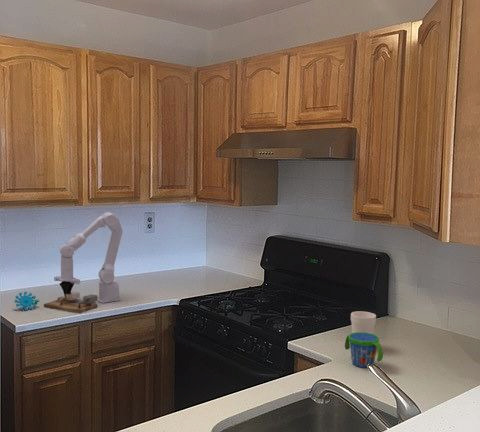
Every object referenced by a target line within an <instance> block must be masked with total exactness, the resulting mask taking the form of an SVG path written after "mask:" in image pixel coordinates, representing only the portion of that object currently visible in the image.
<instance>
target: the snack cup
mask: <svg viewBox="0 0 480 432" xmlns="http://www.w3.org/2000/svg"><path fill="white" fill-rule="evenodd" d="M344 348H345V350H350V356H351V363H352V365H354V366H356V367H359V368H368V367H367V365H368V364H373V365H374V364H375V360H377V362H381V361H382V360H383V357H384V354H383V348H382V345H381V343H380V337H379V336H377V335H376V334H374V333H373V334H370V333H363V332H357V333H352V332H351V333H350V334H348V335H346V338H345V342H344ZM376 353H377V358H376Z"/></svg>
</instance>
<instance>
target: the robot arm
mask: <svg viewBox="0 0 480 432" xmlns="http://www.w3.org/2000/svg"><path fill="white" fill-rule="evenodd" d="M106 226H107V227H108V229H109V231H110V232H111V234H110V239H109V242H108V245H107V250H106V254H105V259H104V262H103V264H102V266H101V269H100V270H99V272H98V278H99V279H100V280H99V282H98V297H97V302H100V303H102V304H105V303H110V302H111V303H112V302H117V301H120V300H121V299H120V285H119V283H118V281H114V280H115V275H114V274H115V263H116V258H117V255H118V251H119V247H120V243H121V239H122V235H123V227H122V225H121V222H120V219H119V217H118V216H117V215H116V214H114V213H112V212H110V211H106V212H103V214H102V215H100V216H98V218H96V219H95V220H94V221H93V222H91V224H90V225H88V226H87V227H86V229H84V230H83V231H82V232H81V233H80V232H77V233H74V234H73V235H72V237H71V239H70V240H68V241H65V244H63V245H61V247H60V249H59V253H60V276H58V275H57V276H54V279H53V281H54V282H60V283H59V286H60V287H61V289H62V292H63V294H64V295H63V297H66V294H67V293H71V292H72V290H73V287H74V285H79V284H81V279H79V278H76V277H74V259H73V255H74V254H75V252H76V251H77V250H79V249H80V248H81V247H83V245H84V244H85V243H86V242H87V238H88V237H89V236H91V235H92V234H94V232H95V231H97V230H98V229H100V228H106Z"/></svg>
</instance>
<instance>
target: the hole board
mask: <svg viewBox="0 0 480 432" xmlns="http://www.w3.org/2000/svg"><path fill="white" fill-rule="evenodd" d="M43 308H46V309H51V310H52V309H53V310H59V311H65V312H70V313H75V314H83V313H86V312H88V311H91V310H93V309H94V310H95V309H96V308H98V303H96V304H95V305H92V306H90V305H84V304H80V307H79V304H77V303H72V302H66V301H63V304H61V301H59V300H57V299H56V300H53V301H50V302H46V303H45V302H44V303H43Z"/></svg>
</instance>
